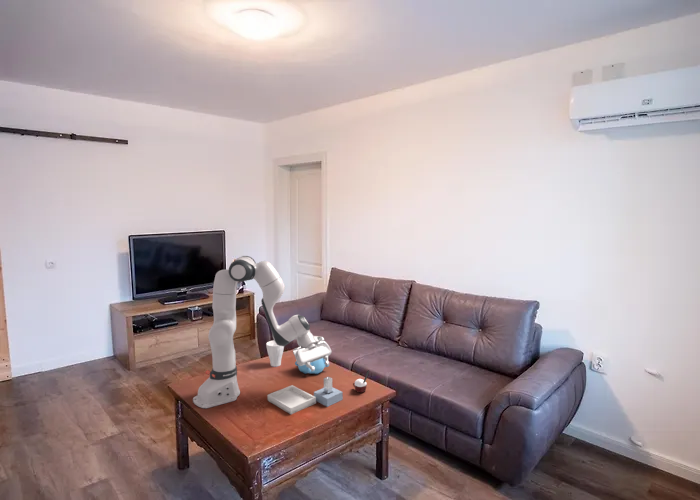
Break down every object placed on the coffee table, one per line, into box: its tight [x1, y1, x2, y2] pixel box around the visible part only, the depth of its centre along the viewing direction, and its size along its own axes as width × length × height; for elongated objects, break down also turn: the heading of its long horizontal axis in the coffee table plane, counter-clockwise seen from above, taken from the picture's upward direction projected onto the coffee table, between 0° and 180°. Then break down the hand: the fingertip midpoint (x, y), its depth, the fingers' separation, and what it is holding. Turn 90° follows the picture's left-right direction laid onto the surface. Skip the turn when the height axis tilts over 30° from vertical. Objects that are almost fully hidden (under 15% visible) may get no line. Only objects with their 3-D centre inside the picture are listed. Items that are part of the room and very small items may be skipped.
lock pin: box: [323, 376, 333, 394], centre depth 198 cm, size 3×3×11 cm
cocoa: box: [352, 369, 370, 393], centre depth 207 cm, size 10×6×12 cm, turn 32°
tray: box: [266, 384, 317, 415], centre depth 197 cm, size 15×19×3 cm
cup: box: [265, 339, 285, 368], centre depth 242 cm, size 10×10×14 cm
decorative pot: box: [294, 358, 330, 375], centre depth 233 cm, size 16×16×14 cm
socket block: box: [313, 386, 344, 407], centre depth 199 cm, size 10×10×4 cm
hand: (320, 367), depth 201 cm, fingers open, 8 cm apart
